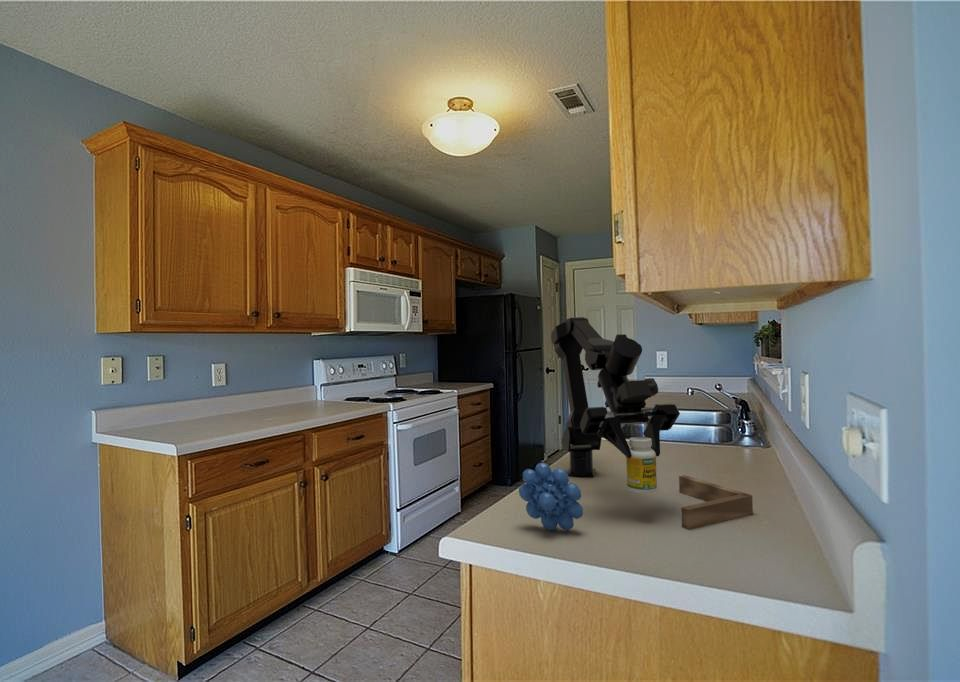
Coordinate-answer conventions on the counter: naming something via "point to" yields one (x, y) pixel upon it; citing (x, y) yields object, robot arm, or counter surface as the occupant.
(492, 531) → the counter surface
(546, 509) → the blue knobby flower
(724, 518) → the walnut corner walls
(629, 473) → the supplement bottle
